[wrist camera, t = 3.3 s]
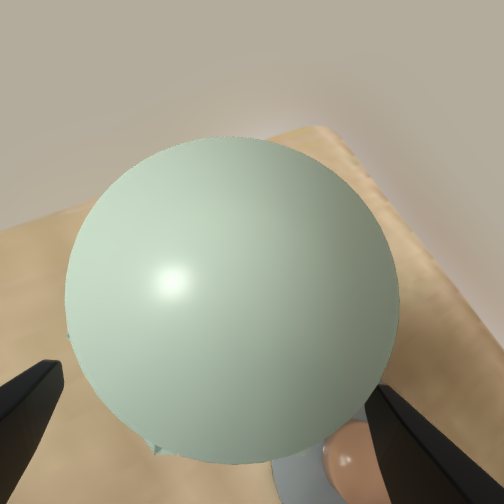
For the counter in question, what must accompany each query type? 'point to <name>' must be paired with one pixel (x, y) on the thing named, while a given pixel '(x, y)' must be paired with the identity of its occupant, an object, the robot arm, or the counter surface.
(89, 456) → the counter surface
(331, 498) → the plate
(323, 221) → the mint green canister
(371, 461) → the peach dome
